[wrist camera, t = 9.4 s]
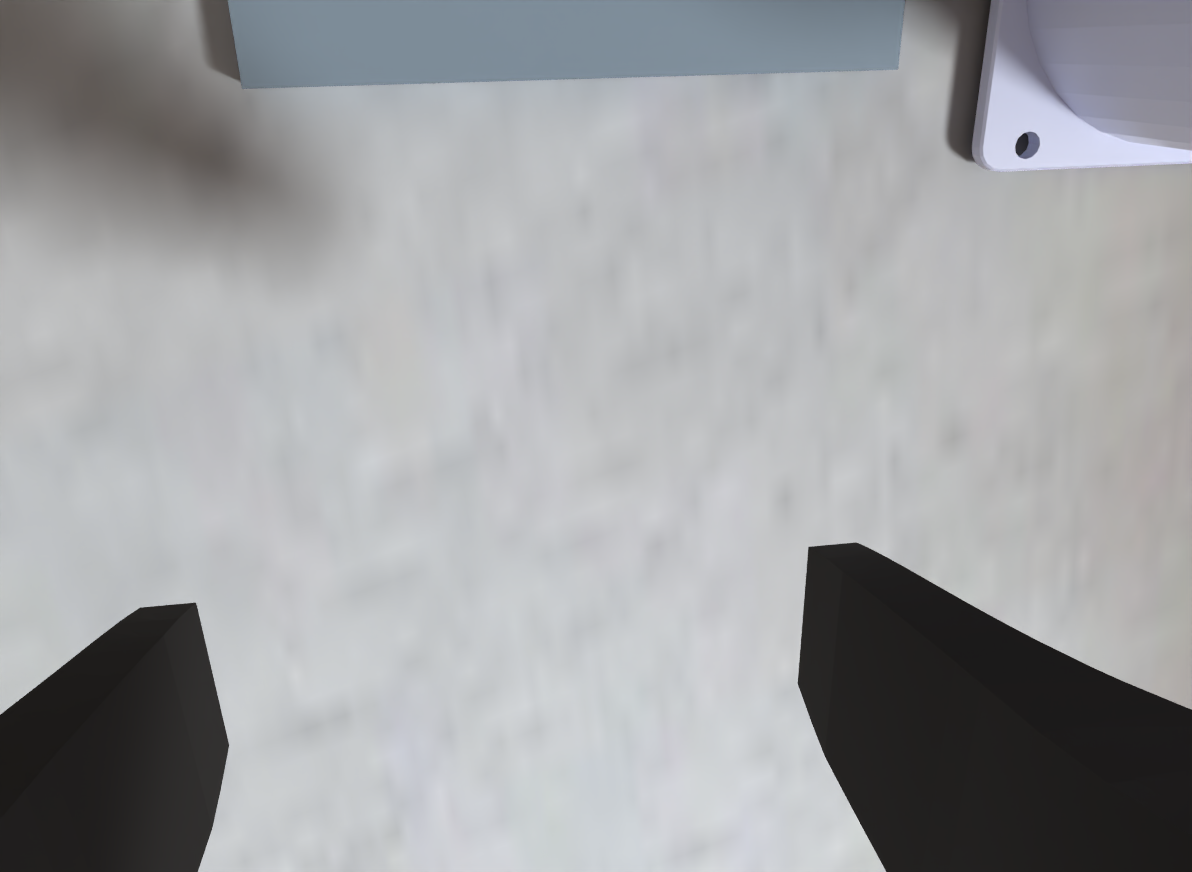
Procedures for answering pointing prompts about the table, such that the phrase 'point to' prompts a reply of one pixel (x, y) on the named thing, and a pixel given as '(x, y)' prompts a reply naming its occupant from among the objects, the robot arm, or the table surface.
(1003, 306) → the table surface
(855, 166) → the table surface
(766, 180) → the table surface
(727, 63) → the dock
